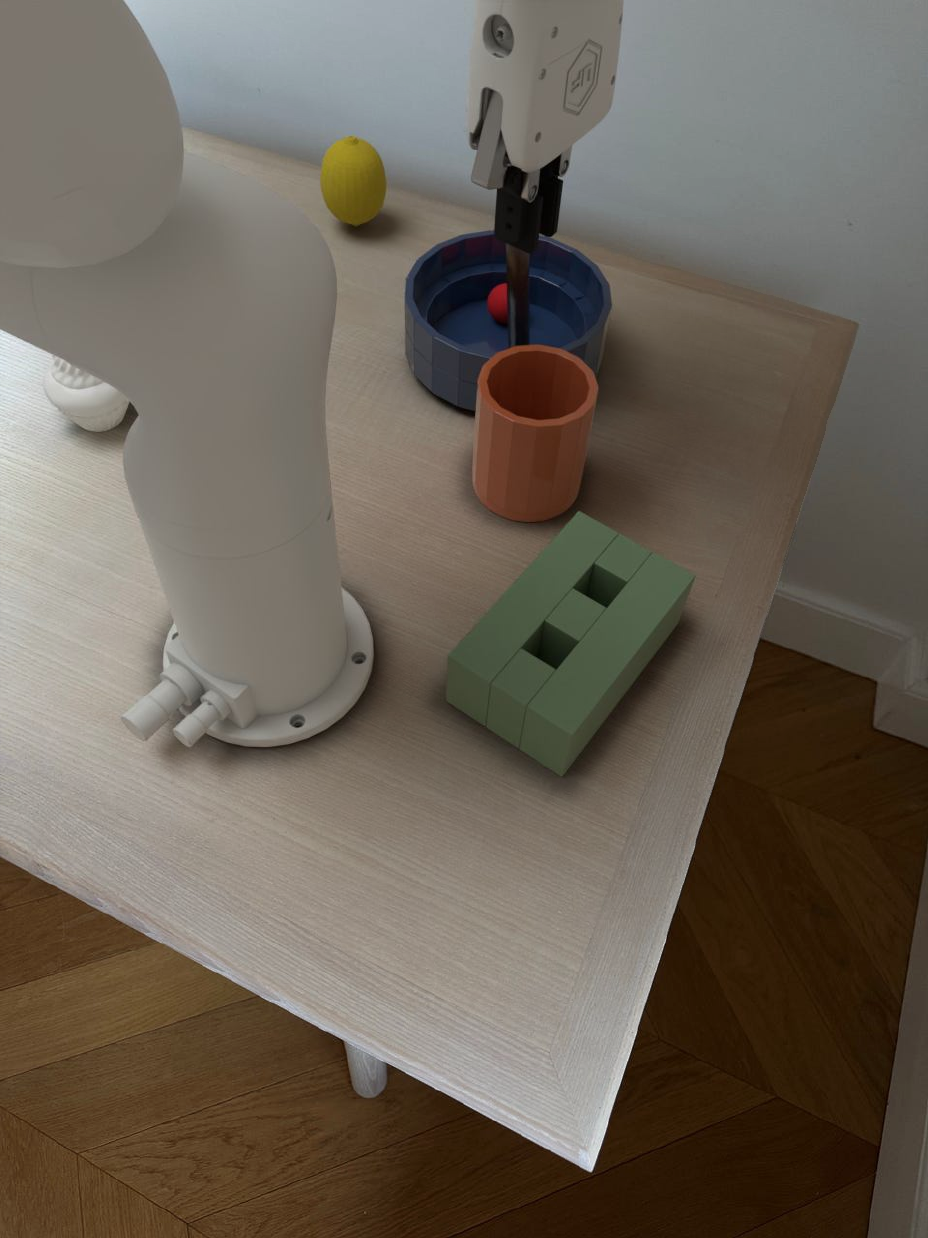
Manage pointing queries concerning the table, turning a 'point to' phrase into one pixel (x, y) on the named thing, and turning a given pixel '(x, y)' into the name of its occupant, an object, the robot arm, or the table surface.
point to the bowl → (464, 329)
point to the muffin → (83, 397)
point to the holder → (567, 641)
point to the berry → (498, 303)
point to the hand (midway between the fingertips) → (525, 234)
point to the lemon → (353, 180)
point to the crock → (532, 431)
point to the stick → (517, 296)
